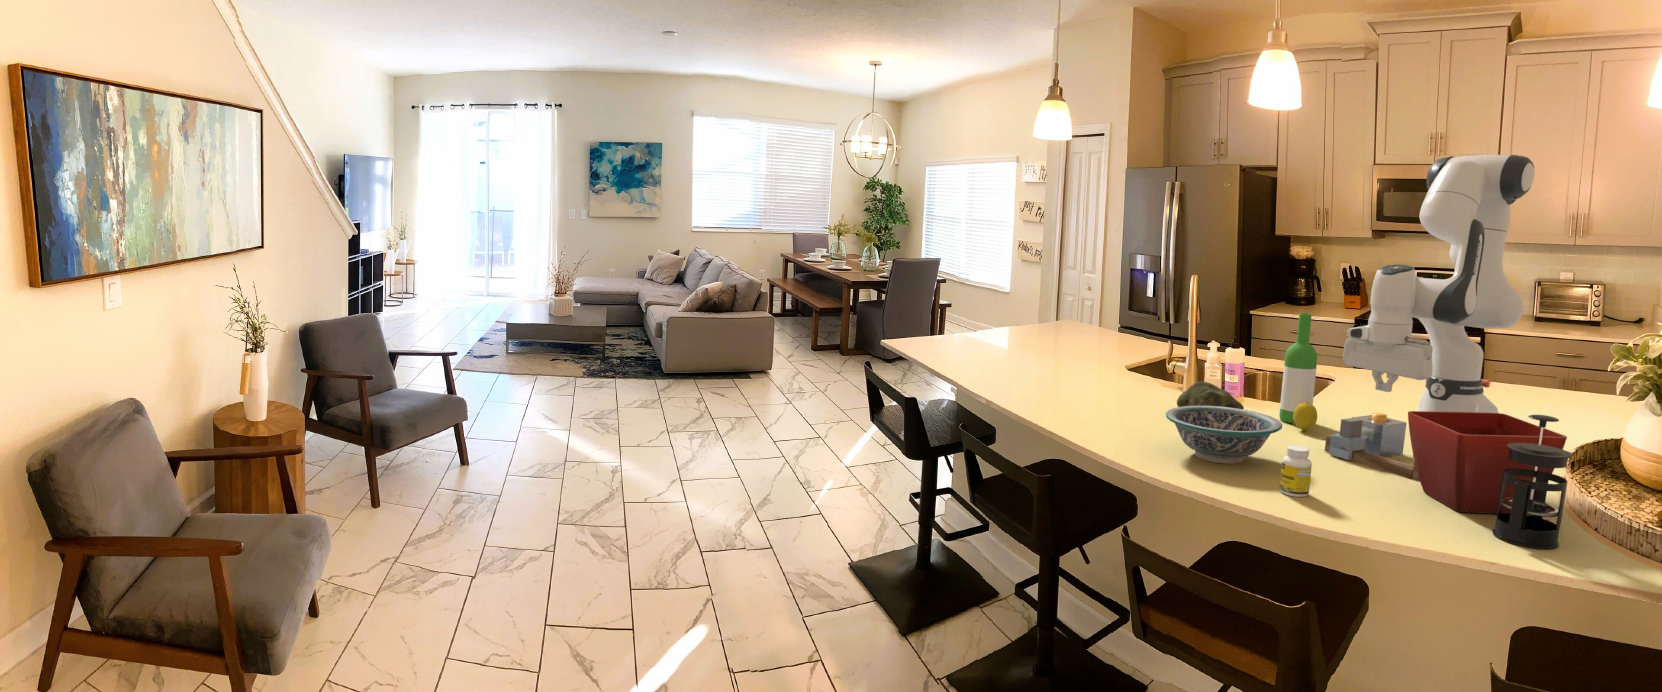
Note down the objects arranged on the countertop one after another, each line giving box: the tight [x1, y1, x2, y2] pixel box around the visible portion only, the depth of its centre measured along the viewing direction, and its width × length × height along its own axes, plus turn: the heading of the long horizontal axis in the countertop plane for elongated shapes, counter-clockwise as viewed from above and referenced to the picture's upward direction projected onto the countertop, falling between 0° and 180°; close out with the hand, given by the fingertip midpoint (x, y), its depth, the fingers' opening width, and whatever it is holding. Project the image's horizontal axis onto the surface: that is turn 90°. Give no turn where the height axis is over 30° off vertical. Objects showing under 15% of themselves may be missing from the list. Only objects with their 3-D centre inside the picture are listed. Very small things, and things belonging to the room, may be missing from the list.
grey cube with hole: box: [1351, 414, 1407, 458], centre depth 207 cm, size 8×8×8 cm
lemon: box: [1293, 402, 1318, 432], centre depth 226 cm, size 6×6×8 cm
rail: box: [1324, 434, 1420, 481], centre depth 198 cm, size 3×23×4 cm, turn 21°
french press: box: [1492, 414, 1573, 551], centre depth 153 cm, size 12×9×23 cm
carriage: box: [1328, 417, 1369, 461], centre depth 203 cm, size 6×5×9 cm
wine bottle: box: [1279, 312, 1318, 425], centre depth 233 cm, size 8×8×30 cm
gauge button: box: [1371, 412, 1388, 422], centre depth 207 cm, size 3×3×5 cm
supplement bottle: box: [1279, 445, 1313, 498], centre depth 178 cm, size 5×5×10 cm
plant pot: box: [1407, 410, 1568, 515], centre depth 172 cm, size 19×19×17 cm
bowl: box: [1165, 406, 1283, 465], centre depth 202 cm, size 25×25×10 cm
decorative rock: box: [1176, 380, 1245, 410], centre depth 241 cm, size 15×16×10 cm
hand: (1383, 390), depth 206 cm, fingers closed
